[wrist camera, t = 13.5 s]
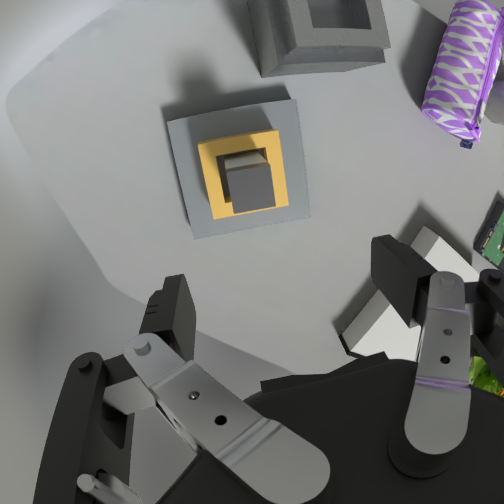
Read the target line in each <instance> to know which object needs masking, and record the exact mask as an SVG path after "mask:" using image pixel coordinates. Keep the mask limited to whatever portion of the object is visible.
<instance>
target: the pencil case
mask: <svg viewBox="0 0 504 504" xmlns="http://www.w3.org/2000/svg"><path fill="white" fill-rule="evenodd" d="M503 46H504V7H502V12H500V11H499V10H498V9H497V8H496V7H495V6H494V5H493V4H491V3H490V2H488V1H486V0H458V1H457V2H456V3H455V7H454V8H453V10H452V13H451V15H450V18H449V22H448V27H447V29H446V30H445V33H444V35H443V38H442V41H441V44H440V48H439V51H438V55H437V58H436V61H435V64H434V68H433V71H432V73H431V76H430V79H429V81H428V84H427V87H426V91H425V95H424V102H423V103H422V106H421V111H422V113H423V114H424V115H425V116H426V117H427V118H429V119H430V120H432V121H434V122H435V123H436V124H437V125H439V126H440V127H441V128H442V129H444V130H445V131H447V132H448V133H450V134H452V135H454V136H456V137H458V138H460V139H462V141H461V142H460V146H461V147H464V148H468V149H471V148H472V145H473V142H476V141H478V142H480V141H481V140H480V138H479V137H480V134H481V124H482V118H483V115H484V111H485V107H486V102H487V99H488V95H489V92H490V90H491V88H492V86H493V81H494V79H495V76H496V73H497V70H498V67H499V63H500V60H501V55H502V51H503Z"/></svg>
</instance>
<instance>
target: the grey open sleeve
mask: <svg viewBox="0 0 504 504" xmlns="http://www.w3.org/2000/svg"><path fill="white" fill-rule="evenodd" d="M247 3H248V8H249V13H250V18H251V23H252V28H253V33H254V38H255V44H256V49H257V54H258V60H259V65H260V71H261V76H262V78H265V77H274V76H283V75H293V74H306V73H322V72H345V71H349V70H353V69H358V68H362V67H366V66H371V65H376V64H381V63H385V58H384V52H383V49H387V48H391V46H390V40H389V35H388V30H387V26H386V21H385V16H384V12H383V8H382V4H381V0H248V1H247Z"/></svg>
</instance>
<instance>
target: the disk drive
mask: <svg viewBox="0 0 504 504" xmlns="http://www.w3.org/2000/svg"><path fill="white" fill-rule="evenodd" d="M473 249H474V250H475V251H476V252H478V253H479V254H480V255H481V256H482V257H484V258H485V259H486V260H488V261H489V262H490V263H491V264H492V265H494V266H495V267H496V268H497V269H498V270H499V271H501V272H503V273H504V204H503V203H501V202H499V201H497V203H496V206H495V208H494V210H493V212H492V214H491V216H490V218H489V220H488V222H487V224H486V226H485V227H484V229H483V231H482V233H481V235H480V237H479V239H478V241H477V242H476V244H475V246H474V248H473Z"/></svg>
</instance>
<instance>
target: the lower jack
mask: <svg viewBox="0 0 504 504" xmlns="http://www.w3.org/2000/svg"><path fill="white" fill-rule="evenodd" d="M167 125H168V130H169V135H170V139H171V144H172V149H173V153H174V158H175V162H176V167H177V171H178V175H179V180H180V184H181V188H182V192H183V196H184V200H185V205H186V209H187V213H188V217H189V221H190V225H191V229H192V232H193V236H194V240H196V239H200V238H205V237H210V236H215V235H220V234H226V233H231V232H236V231H241V230H246V229H251V228H256V227H262V226H267V225H272V224H278V223H283V222H288V221H294V220H299V219H305V218H310V217H311V213H310V204H309V194H308V185H307V176H306V168H305V160H304V152H303V144H302V137H301V129H300V122H299V115H298V109H297V102H296V99H290V100H282V101H274V102H266V103H259V104H253V105H246V106H240V107H234V108H229V109H223V110H218V111H213V112H208V113H203V114H198V115H194V116H189V117H185V118H180V119H176V120H172V121H168V122H167ZM255 151H257V152H258V153H259V154H260V155H261V156H262V157H263V158H264V159H265V160H266V161H267V162H268V163H269V164H270V166H271V173H272V180H273V187H274V194H275V202H276V207H270V208H264V209H259V210H253V211H248V212H242V213H237V214H234V212H233V207H232V202H231V196H230V191H229V186H228V180H227V175H226V168H225V160H224V157H226V156H231V155H237V154H243V153H249V152H255Z"/></svg>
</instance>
